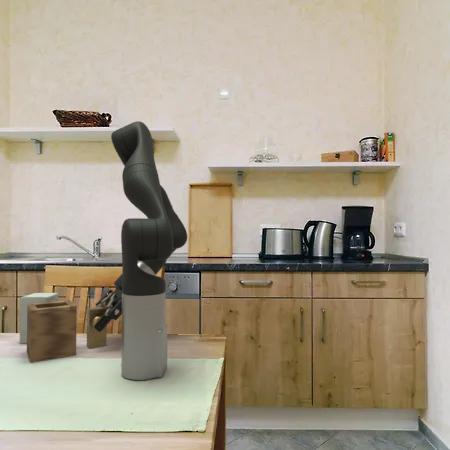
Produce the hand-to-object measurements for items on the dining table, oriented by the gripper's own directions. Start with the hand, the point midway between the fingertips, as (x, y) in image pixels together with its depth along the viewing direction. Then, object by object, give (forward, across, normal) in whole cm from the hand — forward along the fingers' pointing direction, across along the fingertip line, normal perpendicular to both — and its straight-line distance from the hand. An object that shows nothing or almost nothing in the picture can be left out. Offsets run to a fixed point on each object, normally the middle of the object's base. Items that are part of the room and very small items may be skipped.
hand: (92, 325), depth 96 cm
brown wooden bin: (+11, 0, -3) cm, 11 cm away
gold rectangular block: (+3, 0, +5) cm, 6 cm away
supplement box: (+12, -14, -4) cm, 19 cm away
